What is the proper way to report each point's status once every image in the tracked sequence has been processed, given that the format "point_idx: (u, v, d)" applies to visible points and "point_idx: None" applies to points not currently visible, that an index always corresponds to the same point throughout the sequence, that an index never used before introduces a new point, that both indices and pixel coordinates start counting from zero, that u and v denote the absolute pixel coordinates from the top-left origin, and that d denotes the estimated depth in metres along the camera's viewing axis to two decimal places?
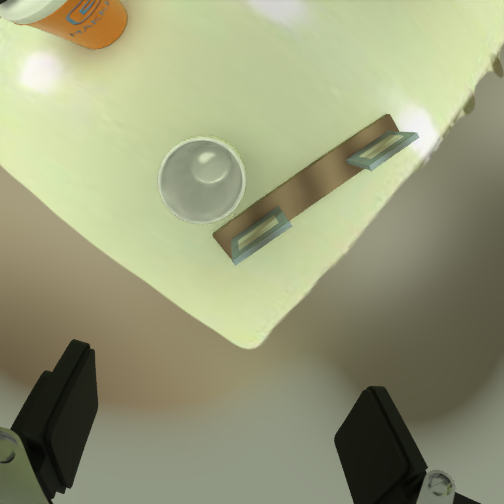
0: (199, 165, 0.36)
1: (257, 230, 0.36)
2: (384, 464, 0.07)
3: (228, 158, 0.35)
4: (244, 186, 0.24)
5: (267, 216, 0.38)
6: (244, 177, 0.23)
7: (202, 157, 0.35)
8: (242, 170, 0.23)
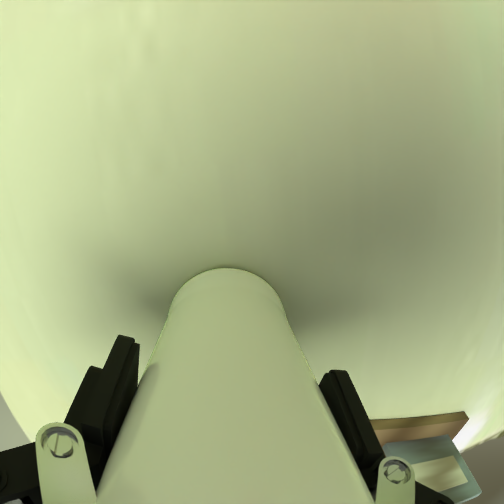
0: None
1: None
2: None
3: None
4: None
5: None
6: None
7: None
8: None
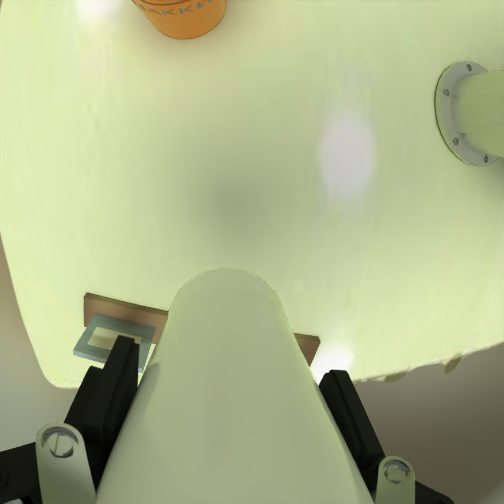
0: None
1: (116, 338, 0.30)
2: None
3: None
4: None
5: (137, 328, 0.32)
6: None
7: None
8: None
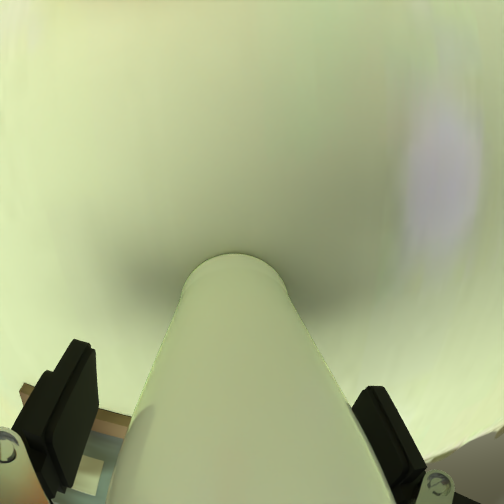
0: None
1: None
2: (383, 464, 0.07)
3: None
4: None
5: (98, 443, 0.18)
6: None
7: None
8: None
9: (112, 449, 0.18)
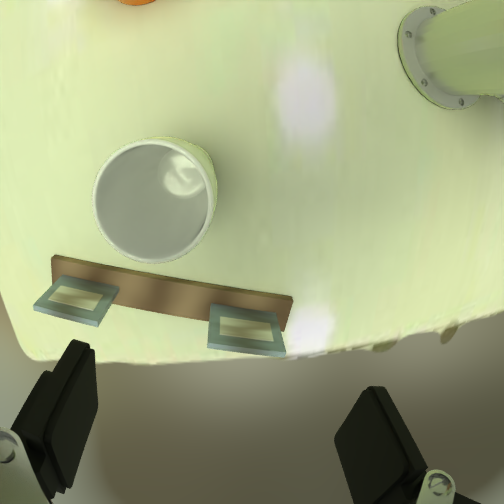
0: (174, 163, 0.28)
1: (77, 295, 0.28)
2: (384, 464, 0.07)
3: (205, 183, 0.29)
4: (187, 251, 0.17)
5: (101, 287, 0.31)
6: (195, 243, 0.17)
7: (184, 158, 0.28)
8: (200, 235, 0.17)
9: (110, 290, 0.31)
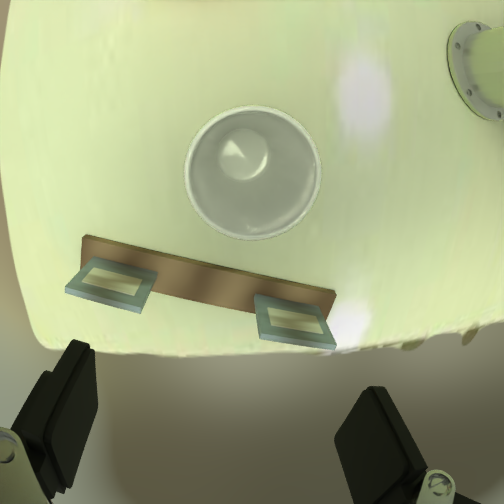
0: (234, 144, 0.27)
1: (114, 279, 0.27)
2: (384, 464, 0.07)
3: (264, 168, 0.28)
4: (287, 229, 0.16)
5: (138, 272, 0.30)
6: (298, 221, 0.16)
7: (245, 141, 0.27)
8: (304, 212, 0.16)
9: (148, 275, 0.30)
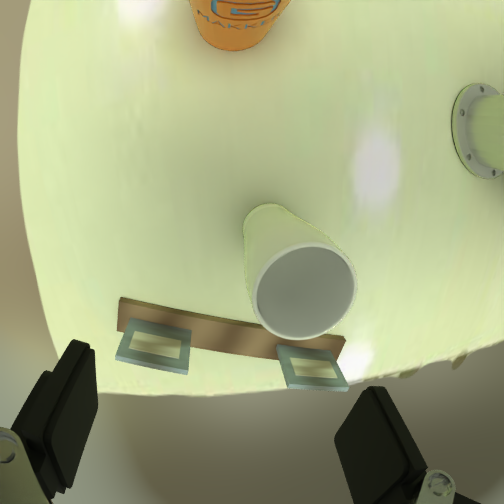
0: None
1: (157, 342, 0.31)
2: (384, 464, 0.07)
3: None
4: (328, 330, 0.20)
5: (175, 332, 0.34)
6: (336, 324, 0.20)
7: None
8: (342, 318, 0.20)
9: (185, 335, 0.34)
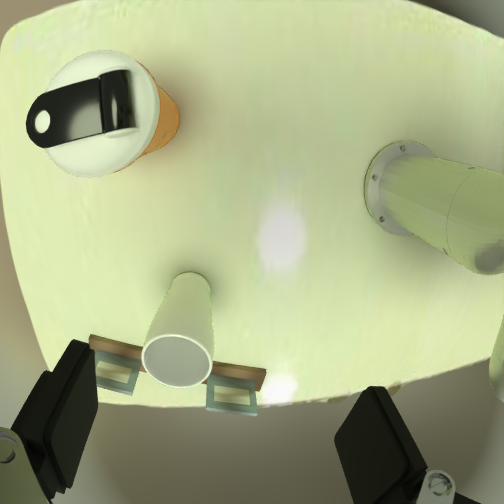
0: None
1: (113, 370, 0.40)
2: (384, 464, 0.07)
3: None
4: (197, 384, 0.29)
5: (129, 361, 0.43)
6: (202, 381, 0.29)
7: None
8: (205, 378, 0.29)
9: (135, 364, 0.43)
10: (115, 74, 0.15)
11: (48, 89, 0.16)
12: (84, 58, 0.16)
